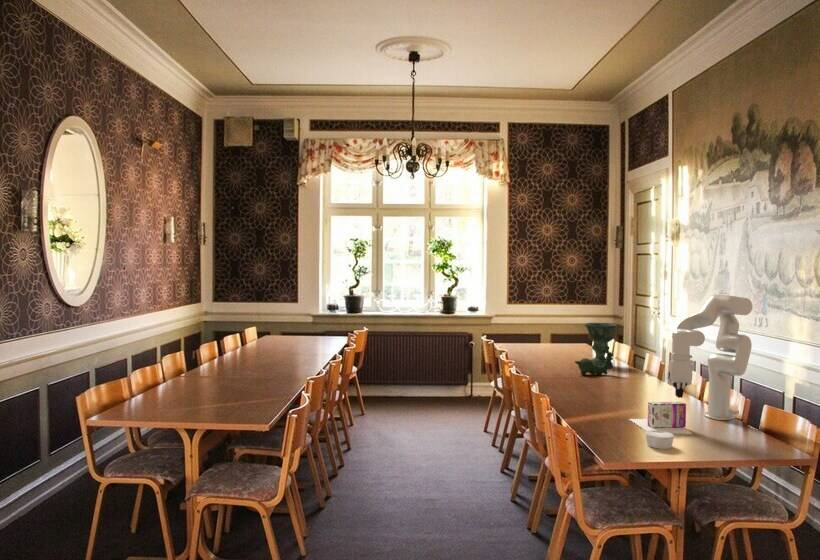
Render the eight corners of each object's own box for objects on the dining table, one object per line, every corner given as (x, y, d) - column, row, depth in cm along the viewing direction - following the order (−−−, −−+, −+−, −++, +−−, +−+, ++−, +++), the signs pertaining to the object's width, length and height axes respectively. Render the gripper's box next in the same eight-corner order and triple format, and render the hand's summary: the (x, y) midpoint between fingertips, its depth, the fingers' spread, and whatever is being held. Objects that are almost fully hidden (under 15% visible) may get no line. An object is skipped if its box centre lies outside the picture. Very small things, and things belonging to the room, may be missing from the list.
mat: (667, 420, 308) (667, 419, 308) (691, 434, 284) (691, 433, 284) (628, 420, 307) (628, 418, 307) (650, 434, 283) (650, 433, 283)
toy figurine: (607, 376, 428) (570, 372, 426) (610, 348, 427) (574, 344, 425) (612, 379, 419) (575, 375, 416) (616, 350, 418) (578, 346, 416)
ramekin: (666, 442, 272) (667, 430, 272) (678, 450, 261) (678, 437, 261) (640, 442, 272) (641, 429, 271) (651, 450, 261) (651, 437, 260)
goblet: (623, 367, 454) (624, 325, 453) (600, 369, 443) (601, 326, 442) (599, 362, 473) (600, 322, 472) (577, 364, 462) (578, 323, 461)
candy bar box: (680, 401, 298) (647, 401, 296) (686, 403, 293) (653, 403, 291) (679, 425, 298) (646, 425, 296) (685, 427, 293) (652, 428, 291)
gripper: (692, 356, 299) (691, 395, 300) (661, 356, 298) (659, 395, 299) (700, 359, 292) (699, 399, 292) (668, 358, 291) (667, 398, 292)
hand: (679, 396), depth 296 cm, fingers closed
